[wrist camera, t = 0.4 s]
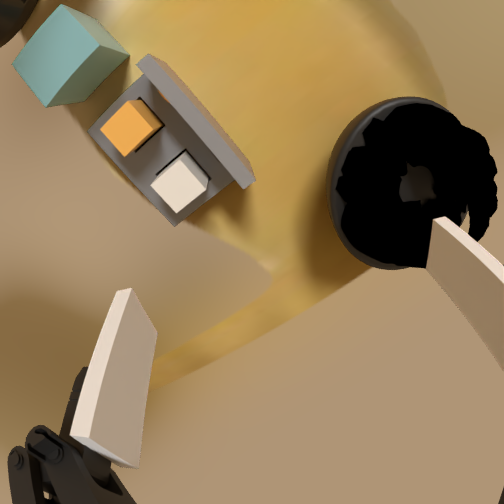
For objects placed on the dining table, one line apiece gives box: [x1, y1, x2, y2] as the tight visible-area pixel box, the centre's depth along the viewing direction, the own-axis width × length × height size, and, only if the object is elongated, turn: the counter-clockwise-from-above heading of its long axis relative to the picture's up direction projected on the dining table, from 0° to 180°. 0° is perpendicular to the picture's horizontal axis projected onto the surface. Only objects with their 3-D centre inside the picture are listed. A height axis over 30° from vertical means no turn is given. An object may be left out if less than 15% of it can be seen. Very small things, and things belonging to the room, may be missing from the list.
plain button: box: [150, 151, 209, 213], centre depth 29 cm, size 4×4×5 cm
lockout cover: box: [12, 4, 130, 108], centre depth 20 cm, size 8×8×9 cm
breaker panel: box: [87, 54, 256, 227], centre depth 28 cm, size 16×12×8 cm
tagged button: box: [100, 100, 164, 157], centre depth 26 cm, size 4×4×5 cm
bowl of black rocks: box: [326, 97, 498, 270], centre depth 27 cm, size 20×20×19 cm
